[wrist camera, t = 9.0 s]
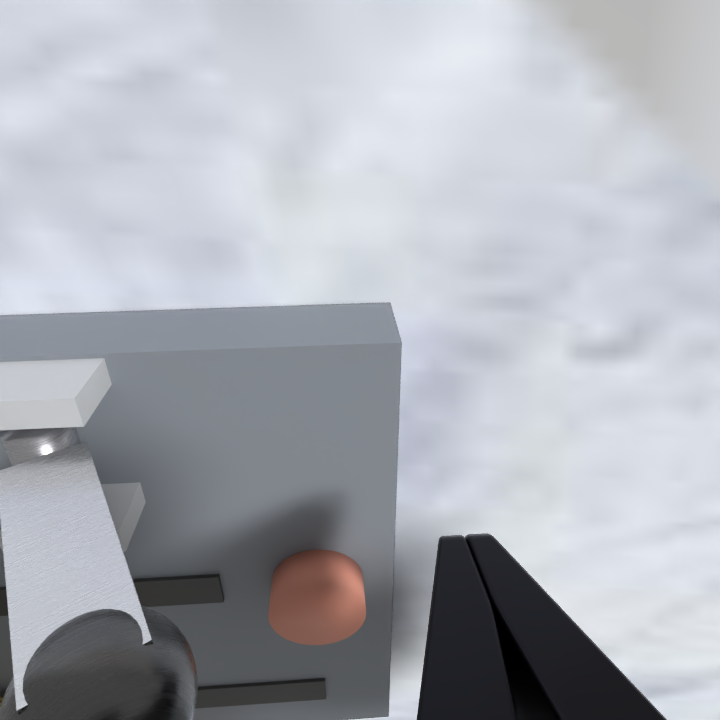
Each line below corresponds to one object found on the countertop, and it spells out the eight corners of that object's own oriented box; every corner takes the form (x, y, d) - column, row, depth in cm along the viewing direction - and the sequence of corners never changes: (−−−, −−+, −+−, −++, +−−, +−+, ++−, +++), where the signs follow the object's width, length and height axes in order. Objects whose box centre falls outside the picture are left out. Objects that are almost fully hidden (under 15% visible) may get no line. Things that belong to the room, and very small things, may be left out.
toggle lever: (4, 509, 11) (42, 904, 6) (-37, 422, 10) (-36, 818, 5) (117, 468, 12) (233, 772, 7) (91, 386, 11) (208, 675, 6)
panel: (-15, 683, 18) (-80, 802, 15) (-248, 323, 11) (-448, 414, 8) (382, 656, 19) (393, 765, 16) (390, 302, 12) (412, 379, 9)
